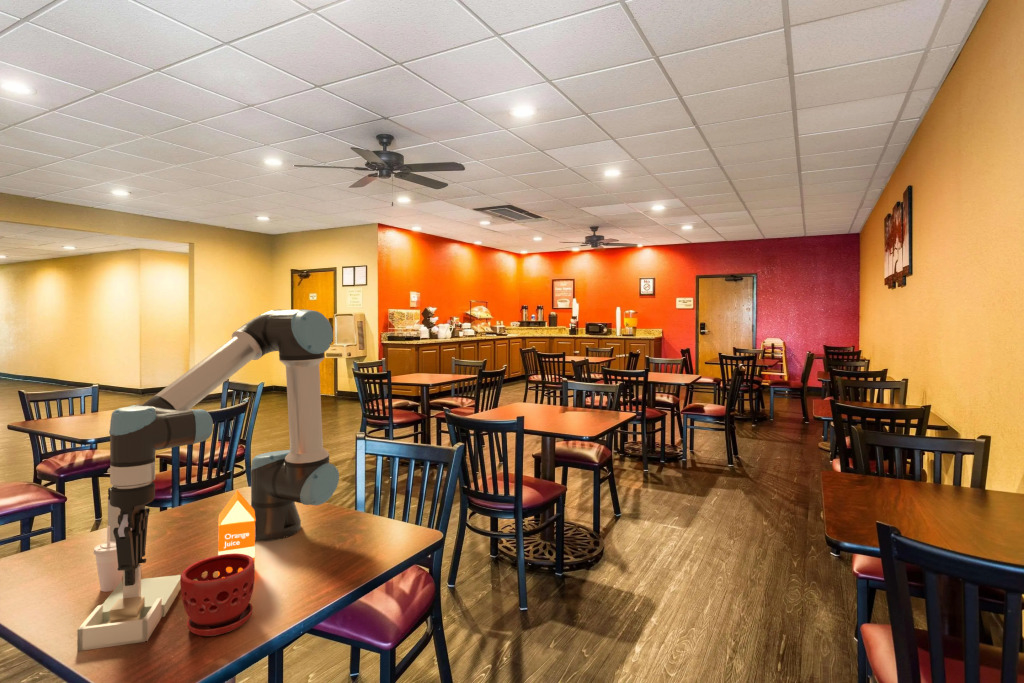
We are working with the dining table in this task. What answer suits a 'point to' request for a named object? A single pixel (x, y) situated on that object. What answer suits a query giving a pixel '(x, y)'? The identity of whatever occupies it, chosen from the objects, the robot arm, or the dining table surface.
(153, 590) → the board
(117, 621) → the tile front
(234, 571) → the plant pot
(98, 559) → the smoothie
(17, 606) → the dining table surface
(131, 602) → the tile rear
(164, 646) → the dining table surface
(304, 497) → the robot arm
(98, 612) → the tray
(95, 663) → the dining table surface
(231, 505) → the orange juice
